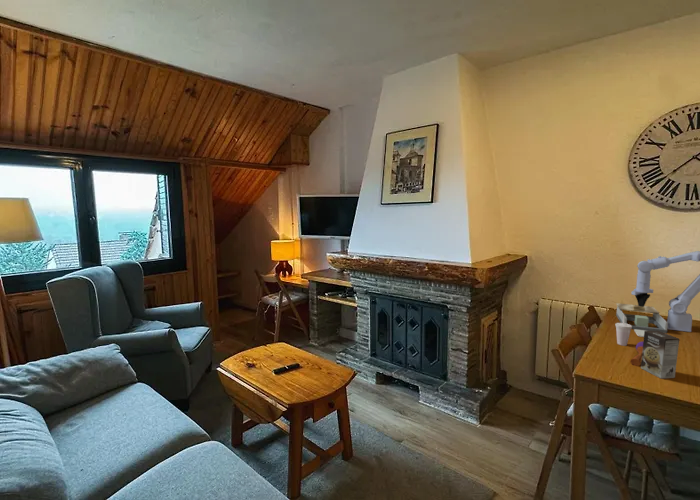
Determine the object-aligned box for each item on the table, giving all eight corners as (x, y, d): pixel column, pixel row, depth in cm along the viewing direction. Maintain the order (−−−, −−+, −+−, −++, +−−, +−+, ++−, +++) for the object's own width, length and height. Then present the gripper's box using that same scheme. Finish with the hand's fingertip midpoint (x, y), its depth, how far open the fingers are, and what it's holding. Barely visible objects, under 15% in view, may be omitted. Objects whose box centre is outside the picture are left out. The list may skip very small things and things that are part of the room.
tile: (658, 333, 186) (658, 332, 186) (663, 339, 178) (663, 338, 178) (634, 330, 191) (634, 329, 191) (638, 336, 182) (638, 335, 182)
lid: (653, 307, 211) (653, 303, 211) (659, 313, 200) (659, 309, 199) (616, 304, 219) (616, 300, 219) (620, 309, 208) (620, 305, 208)
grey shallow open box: (654, 319, 208) (655, 310, 207) (667, 333, 186) (668, 322, 186) (616, 315, 217) (616, 306, 216) (624, 327, 195) (624, 318, 194)
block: (645, 324, 199) (646, 316, 199) (647, 327, 195) (648, 318, 194) (634, 323, 202) (635, 315, 201) (636, 326, 197) (637, 317, 197)
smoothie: (628, 342, 174) (630, 314, 173) (632, 347, 169) (634, 318, 167) (612, 340, 177) (614, 313, 175) (615, 345, 171) (617, 317, 170)
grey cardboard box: (639, 368, 148) (643, 330, 146) (654, 367, 148) (657, 329, 146) (660, 379, 139) (664, 338, 137) (676, 378, 139) (680, 338, 137)
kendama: (625, 354, 152) (636, 339, 165) (627, 368, 152) (638, 351, 165) (643, 356, 148) (653, 340, 160) (645, 370, 148) (655, 353, 161)
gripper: (644, 280, 205) (642, 303, 206) (626, 282, 200) (624, 305, 202) (658, 282, 198) (656, 306, 200) (640, 284, 194) (638, 309, 195)
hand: (641, 306), depth 200 cm, fingers closed
